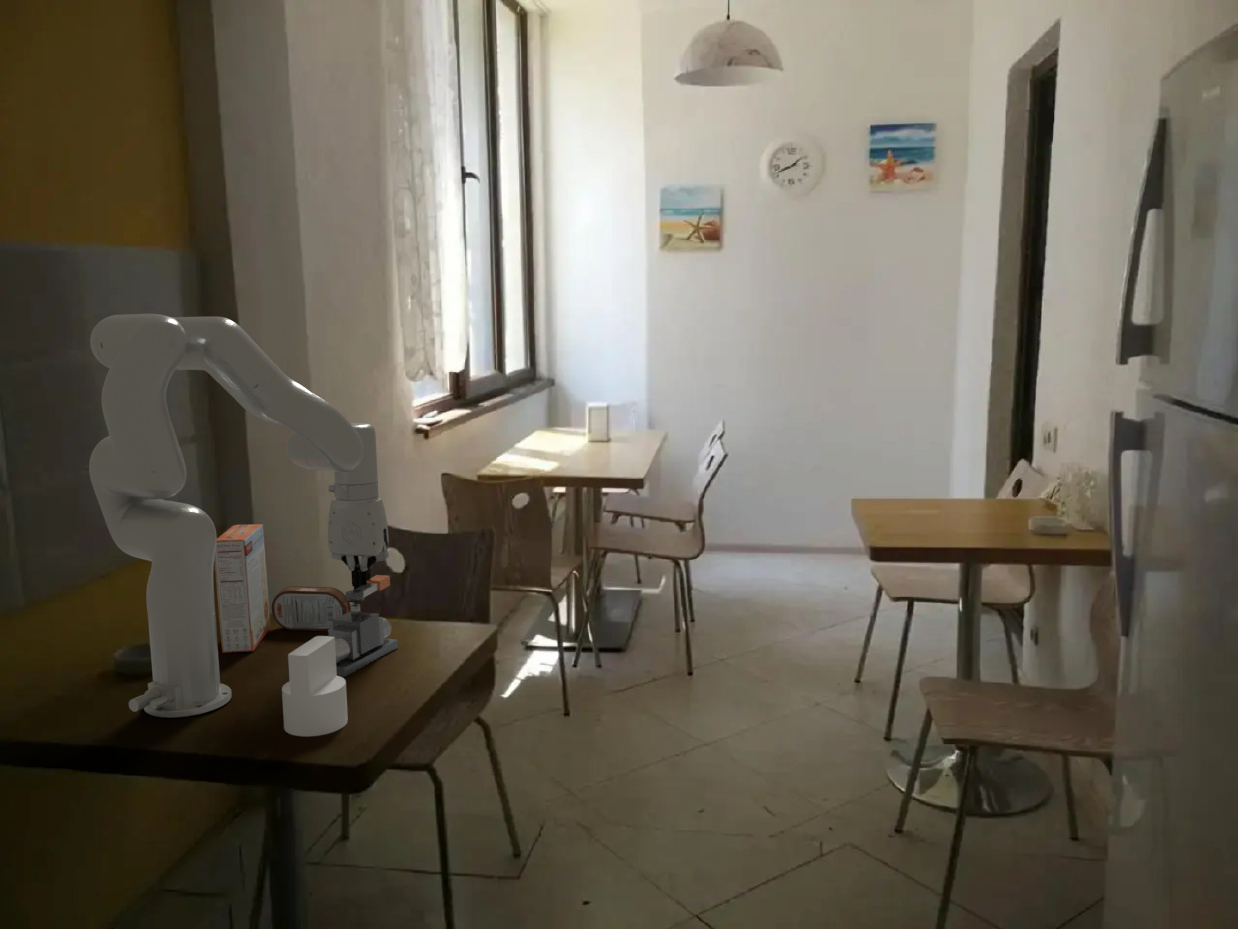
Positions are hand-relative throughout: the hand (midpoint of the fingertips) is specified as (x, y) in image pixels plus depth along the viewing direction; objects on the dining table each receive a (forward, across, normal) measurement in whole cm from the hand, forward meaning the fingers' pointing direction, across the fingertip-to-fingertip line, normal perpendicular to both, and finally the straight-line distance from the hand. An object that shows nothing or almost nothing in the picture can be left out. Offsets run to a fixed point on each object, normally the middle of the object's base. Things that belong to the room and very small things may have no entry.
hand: (361, 590), depth 185 cm
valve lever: (-1, +3, -4) cm, 5 cm away
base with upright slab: (+10, +9, -36) cm, 39 cm away
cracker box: (+10, -22, -3) cm, 25 cm away
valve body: (+10, +3, -9) cm, 14 cm away
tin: (+10, -14, +6) cm, 18 cm away
